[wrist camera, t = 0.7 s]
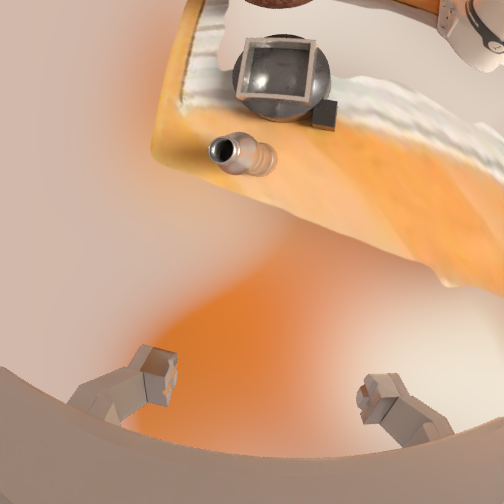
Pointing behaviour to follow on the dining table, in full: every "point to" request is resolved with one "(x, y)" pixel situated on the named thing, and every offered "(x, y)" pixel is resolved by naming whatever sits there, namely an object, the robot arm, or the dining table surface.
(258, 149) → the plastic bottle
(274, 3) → the jug
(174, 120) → the dining table surface
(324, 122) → the disc with square tube
